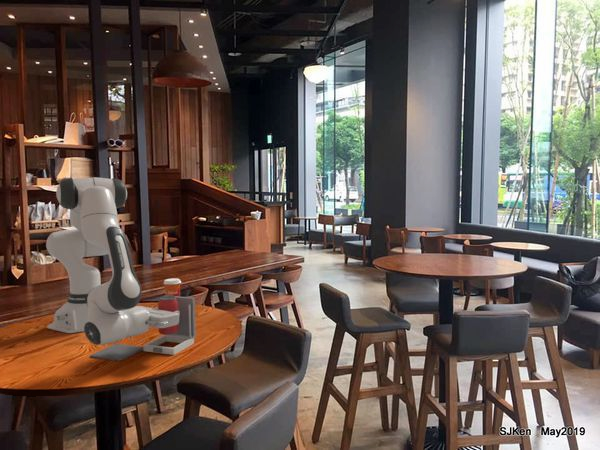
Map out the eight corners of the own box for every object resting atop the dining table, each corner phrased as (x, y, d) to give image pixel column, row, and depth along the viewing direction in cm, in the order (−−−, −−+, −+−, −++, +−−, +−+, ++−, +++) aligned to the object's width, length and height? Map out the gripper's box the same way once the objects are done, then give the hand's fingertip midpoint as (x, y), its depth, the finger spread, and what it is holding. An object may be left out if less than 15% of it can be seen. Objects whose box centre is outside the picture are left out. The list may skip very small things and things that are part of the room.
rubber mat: (90, 357, 152) (90, 355, 152) (116, 345, 163) (116, 343, 163) (120, 361, 148) (120, 359, 148) (144, 348, 159) (144, 347, 159)
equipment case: (141, 351, 156) (140, 304, 155) (167, 339, 170) (165, 295, 168) (172, 355, 152) (170, 307, 151) (195, 342, 166) (194, 297, 164)
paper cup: (161, 312, 207) (160, 281, 206) (168, 308, 215) (167, 277, 214) (177, 313, 206) (176, 281, 205) (185, 308, 214) (184, 278, 213)
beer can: (173, 335, 157) (172, 300, 156) (155, 334, 158) (153, 299, 157) (181, 330, 163) (180, 296, 162) (164, 329, 164) (163, 295, 163)
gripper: (158, 315, 143) (191, 305, 155) (116, 307, 154) (149, 298, 166) (159, 335, 144) (192, 324, 155) (116, 325, 155) (150, 316, 166)
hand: (170, 311), depth 161 cm, fingers closed on beer can, 7 cm apart
